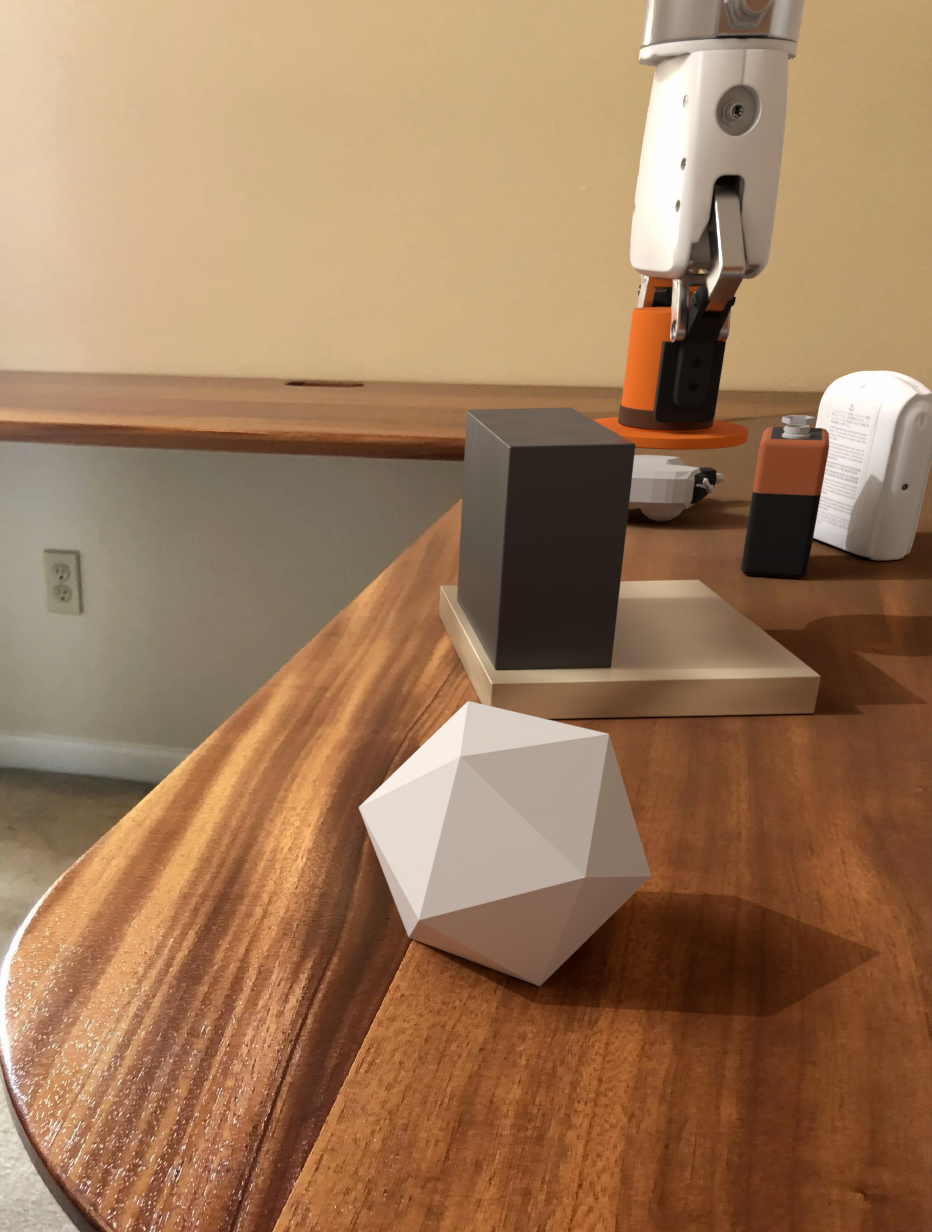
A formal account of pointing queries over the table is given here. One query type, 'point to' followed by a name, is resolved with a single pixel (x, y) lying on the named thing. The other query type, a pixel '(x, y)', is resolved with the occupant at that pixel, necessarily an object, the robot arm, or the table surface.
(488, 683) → the wooden board
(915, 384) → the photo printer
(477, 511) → the tall dark grey box
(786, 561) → the battery
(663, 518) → the robot toy
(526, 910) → the die
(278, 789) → the table surface
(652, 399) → the hat
